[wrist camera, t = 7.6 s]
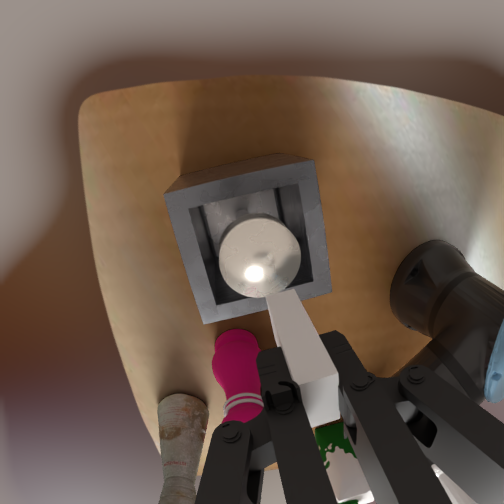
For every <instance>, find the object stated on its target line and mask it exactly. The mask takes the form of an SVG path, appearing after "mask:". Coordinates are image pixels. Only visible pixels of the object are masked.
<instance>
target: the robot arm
mask: <svg viewBox="0 0 504 504" xmlns="http://www.w3.org/2000/svg"><path fill="white" fill-rule="evenodd" d="M266 301H267V305H268V310H269V314H270V319H271V323H272V328H273V333H274V337H275V341H276V344H277V347H276V348H272V349H268V350H264V351H260V352H258V355H257V358H256V364H257V369H258V374H259V379H260V383H261V388H262V395H261V397H262V401H263V404H264V407H263V409H262V411H261V413H260V414H258V415H257V416H256V417H255V418H253V419H251V420H249V421H247V422H245V423H243V422H241V421H236V420H232V421H226V422H224V423H222V424H220V425H219V426H218V427H217V428H216V429H215V430H214V432H213V434H212V438H211V442H210V446H209V450H208V454H207V457H206V461H205V465H204V469H203V473H202V477H201V481H200V485H199V489H198V492H197V496H196V500H195V504H260V500H261V492H262V484H263V476H264V468H266V467H267V466H269V465H271V464H273V463H275V462H277V464H278V468H279V473H280V477H281V481H282V485H283V490H284V494H285V499H286V503H287V504H338V502H337V500H336V497H335V494H334V491H333V488H332V485H331V482H330V480H329V477H328V474H327V471H326V468H325V465H324V462H323V459H322V457H321V454H320V451H319V448H318V445H317V442H316V439H315V437H314V434H313V431H312V427H315V426H318V425H322V424H325V423H328V422H332V421H335V420H338V419H340V413H341V415H342V418H343V420H344V439H346V438H347V436H348V439H349V441H350V443H351V445H352V448H353V450H354V452H355V455H356V457H357V459H358V462H359V464H360V466H361V469H362V471H363V473H364V476H365V478H366V480H367V483H368V485H369V487H370V490H371V492H372V495H373V497H374V499H375V502H376V504H504V424H503V423H502V422H501V421H499V420H498V419H497V418H495V417H494V416H493V415H491V414H490V413H489V412H487V411H486V410H484V409H483V408H482V407H480V406H479V405H480V404H481V403H482V402H483V401H484V400H485V399H486V400H487V401H488V402H492V403H497V402H499V401H501V400H502V399H503V398H504V291H503V290H502V289H500V288H499V287H497V286H496V285H494V284H493V283H491V282H490V281H488V280H486V279H485V278H483V277H482V276H480V275H479V274H477V273H475V271H474V270H473V269H472V267H471V266H470V265H469V264H468V263H467V261H466V260H465V258H464V256H463V255H462V253H461V252H460V251H459V250H458V249H457V248H456V247H454V246H452V245H450V244H449V243H447V242H445V241H441V240H434V241H429V242H426V243H424V244H422V245H420V246H419V247H417V248H416V249H414V250H413V251H412V252H411V253H410V254H409V255H408V256H407V257H406V258H405V260H404V261H403V262H402V264H401V265H400V267H399V269H398V270H397V272H396V274H395V277H394V279H393V282H392V286H391V290H390V305H391V309H392V312H393V314H394V315H395V316H396V318H397V319H398V320H399V321H400V322H401V323H402V324H403V325H404V326H406V327H407V328H409V329H412V330H415V331H418V332H420V333H422V334H424V335H427V336H429V337H431V338H432V340H431V341H430V342H429V343H428V344H427V345H426V346H425V347H424V348H423V349H422V350H421V351H420V352H419V353H418V354H416V355H415V356H414V357H413V358H412V359H411V360H410V361H409V362H408V363H407V364H406V365H404V366H403V367H402V368H401V369H400V370H399V371H398V372H396V373H395V374H394V375H393V376H392V377H390V378H379V377H376V376H375V375H374V374H372V373H370V372H367V371H366V369H365V368H364V366H363V365H362V363H361V361H360V360H359V358H358V357H357V355H356V353H355V352H354V350H352V347H351V346H350V344H349V342H348V341H347V339H346V338H345V336H344V335H343V334H341V333H339V332H338V331H336V330H334V331H331V332H328V333H324V334H321V335H318V333H317V331H316V329H315V327H314V326H313V324H312V322H311V320H310V318H309V316H308V314H307V312H306V310H305V309H304V307H303V305H302V303H301V301H300V299H299V297H298V295H297V294H296V292H295V290H294V289H291V290H287V291H283V292H279V293H275V294H271V295H267V296H266Z"/></svg>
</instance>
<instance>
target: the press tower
mask: <svg viewBox="0 0 504 504" xmlns="http://www.w3.org/2000/svg"><path fill="white" fill-rule="evenodd" d="M269 189H273V191H274V196H275V201H276V207H277V212H278V217H279V220H280V221H281V222H282V223H284V224H285V226H286V227H287V228H288V229H289V230H290V232H291V233H292V234H293V235H294V237H295V238H296V240H297V242H298V244H299V247H300V251H301V262H300V267H299V270H298V272H297V274H296V276H295V278H294V279H293V281H292V282H291V283H290V284H289V285H288V286H287V287H286V288H285V289H283V290H282V291H280V292H283V291H287V290H291V289H294V290H295V292H296V294H297V295H298V297H299V299H300V301H302V300H305V299H309V298H313V297H316V296H320V295H324V294H327V293H331V292H332V286H331V277H330V268H329V259H328V251H327V243H326V235H325V228H324V221H323V214H322V207H321V200H320V194H319V187H318V181H317V175H316V169H315V163H314V160H312V159H308V158H303V157H298V156H293V155H288V154H283V153H276V154H271V155H266V156H262V157H257V158H252V159H247V160H243V161H238V162H234V163H230V164H225V165H221V166H217V167H213V168H209V169H205V170H201V171H197V172H193V173H189V174H185V175H181V176H179V177H178V179H177V180H176V181H175V182H174V183H173V184H172V185H171V186H170V187H169V189H168V190H167V191H166V192H165V193H164V194H163V195H164V198H165V202H166V205H167V209H168V213H169V216H170V220H171V223H172V227H173V230H174V233H175V237H176V240H177V244H178V247H179V250H180V253H181V257H182V260H183V263H184V266H185V270H186V273H187V276H188V279H189V282H190V285H191V288H192V291H193V294H194V297H195V300H196V303H197V306H198V309H199V312H200V315H201V318H202V321H203V324H208V323H212V322H217V321H221V320H226V319H230V318H234V317H238V316H243V315H247V314H251V313H255V312H259V311H263V310H267V309H268V305H267V301H266V297H260V298H255V297H248V296H245V295H242V294H240V293H238V292H236V291H234V290H233V289H232V288H231V287H230V286H229V285H228V284H227V283H226V281H225V280H224V278H223V276H222V274H221V271H220V266H219V256H217V255H216V251H215V248H214V244H213V240H212V236H211V233H210V229H209V225H208V221H207V217H206V213H205V210H204V206H203V205H205V204H209V203H213V202H217V201H221V200H225V199H229V198H234V197H238V196H242V195H246V194H251V193H255V192H260V191H264V190H269ZM278 293H279V292H278Z"/></svg>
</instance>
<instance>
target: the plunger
mask: <svg viewBox="0 0 504 504" xmlns="http://www.w3.org/2000/svg"><path fill="white" fill-rule="evenodd" d="M203 206H204V210H205V213H206V217H207V221H208V225H209V229H210V233H211V236H212V240H213V244H214V248H215V251H216V255H217V256H219V266H220V271H221V274H222V276H223V278H224V280H225V281H226V283H227V284H228V285H229V286H230V287H231V288H232V289H233V290H234V291H236V292H238V293H240V294H242V295H245V296H248V297H255V298H260V297H266V296H267V295H271V294H275V293H278V292H280V291H282V290H283V289H285V288H286V287H287V286H288V285H289V284H290V283H291V282H292V281H293V279H294V278H295V276H296V274H297V272H298V270H299V267H300V262H301V251H300V247H299V244H298V242H297V240H296V238H295V237H294V235H293V234H292V233H291V232H290V230H289V229H288V228H287V227H286V226H285V224H284V223H282V222H281V221H280V220H279V217H278V212H277V207H276V201H275V196H274V191H273V189H269V190H264V191H260V192H255V193H251V194H246V195H242V196H238V197H234V198H229V199H225V200H221V201H217V202H213V203H209V204H205V205H203Z"/></svg>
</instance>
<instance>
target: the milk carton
mask: <svg viewBox="0 0 504 504" xmlns="http://www.w3.org/2000/svg"><path fill="white" fill-rule="evenodd" d="M315 439H316V442H317V445H318V448H319V451H320V454H321V457H322V459H323V462H324V465H325V468H326V471H327V474H328V477H329V480H330V482H331V485H332V488H333V491H334V494H335V497H336V500H337V502H338V504H367V503H370V502H372V501H373V500H374V497H373V495H372V492H371V490H370V487H369V485H368V483H367V480H366V478H365V476H364V473H363V471H362V469H361V466H360V464H359V462H358V459H357V457H356V455H355V452H354V450H353V448H352V445H351V443H350V441H349V439H348V436H347V438H346V439H344V422H341V423H337V424H333V425H329V426H325V427H321V428H317V429H315Z"/></svg>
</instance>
